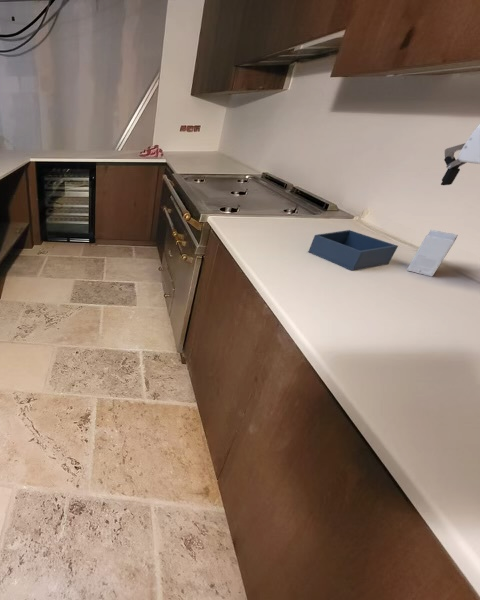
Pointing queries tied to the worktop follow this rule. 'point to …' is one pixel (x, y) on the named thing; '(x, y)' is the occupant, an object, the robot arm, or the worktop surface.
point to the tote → (352, 249)
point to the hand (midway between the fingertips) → (469, 188)
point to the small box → (432, 252)
